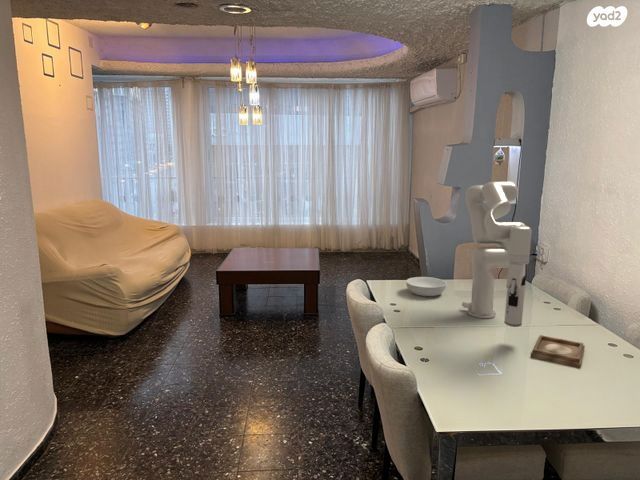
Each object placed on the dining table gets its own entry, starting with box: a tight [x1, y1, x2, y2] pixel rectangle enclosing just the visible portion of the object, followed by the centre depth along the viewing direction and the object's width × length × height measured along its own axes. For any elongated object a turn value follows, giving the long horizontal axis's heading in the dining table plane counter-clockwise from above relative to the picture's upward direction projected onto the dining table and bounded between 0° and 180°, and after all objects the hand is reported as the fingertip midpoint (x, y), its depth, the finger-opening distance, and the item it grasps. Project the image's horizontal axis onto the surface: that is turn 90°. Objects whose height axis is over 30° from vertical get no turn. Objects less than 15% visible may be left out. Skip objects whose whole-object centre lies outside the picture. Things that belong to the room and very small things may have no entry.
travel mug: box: [504, 275, 527, 328], centre depth 178 cm, size 6×7×20 cm
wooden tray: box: [530, 334, 586, 369], centre depth 172 cm, size 16×18×3 cm
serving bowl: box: [405, 276, 448, 297], centre depth 244 cm, size 21×21×7 cm
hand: (514, 302), depth 178 cm, fingers closed on travel mug, 6 cm apart
